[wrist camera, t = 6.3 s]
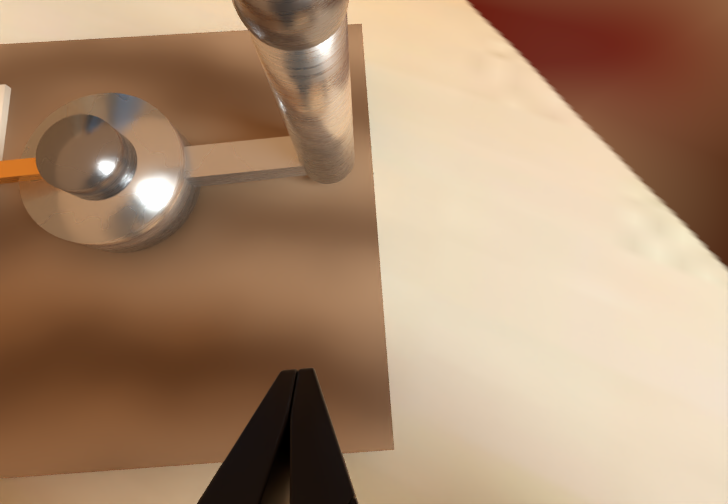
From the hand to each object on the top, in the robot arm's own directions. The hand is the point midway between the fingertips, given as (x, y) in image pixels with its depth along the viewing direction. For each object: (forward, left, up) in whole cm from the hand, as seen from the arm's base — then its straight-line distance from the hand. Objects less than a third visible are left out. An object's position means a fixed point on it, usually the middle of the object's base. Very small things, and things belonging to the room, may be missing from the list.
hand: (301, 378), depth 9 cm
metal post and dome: (+8, +7, -6) cm, 13 cm away
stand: (+6, +7, -8) cm, 13 cm away
